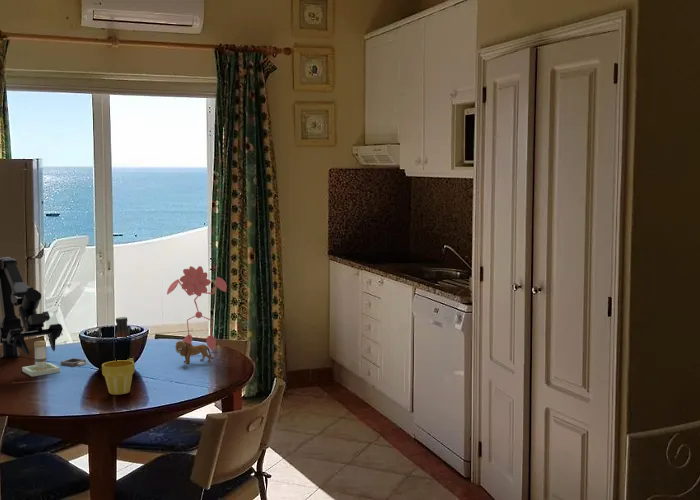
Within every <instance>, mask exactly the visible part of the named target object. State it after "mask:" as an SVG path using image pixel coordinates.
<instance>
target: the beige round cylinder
mask: <svg viewBox="0 0 700 500" xmlns="http://www.w3.org/2000/svg"><path fill="white" fill-rule="evenodd" d="M46 346H47V341H46V340H35V341H33V348H34V365H35V371H39V370H45V369H47V366H46V363H47V348H46Z"/></svg>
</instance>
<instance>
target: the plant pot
mask: <svg viewBox="0 0 700 500" xmlns="http://www.w3.org/2000/svg"><path fill="white" fill-rule="evenodd" d="M135 368H136V366H135V361H134V362H133V361H129V360H117V361H116V360H112V361H107V362H103V363H102V364H101V373H102V376H103V377H104V379H105V384H106V387H107V390H108V393H109V394H110V395H112V396H113V395H114V396H117V395H118V396H119V395H125V394H128V393H130V392H131V385H132V380H133V374H134V373H135V370H136V369H135Z"/></svg>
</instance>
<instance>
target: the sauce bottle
mask: <svg viewBox="0 0 700 500" xmlns="http://www.w3.org/2000/svg"><path fill="white" fill-rule="evenodd" d="M115 322H116V333H115V335H114V338H117V337H127V336H131V333H130V332H129V328H128V317H126V316H122V317H121V316H120V317H116V318H115ZM131 337H132V336H131ZM114 338H113V339H114ZM127 360H129V361H133V362H134V363H135V361H134V357H133V358H129V359H127Z"/></svg>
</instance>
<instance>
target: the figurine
mask: <svg viewBox="0 0 700 500" xmlns="http://www.w3.org/2000/svg"><path fill="white" fill-rule="evenodd" d="M182 271H183V274H184V275H183V276H182V275H181V277H180V278H179V279H176V280H174V281H173V282H172V283H171V284H170V285H169V287H168V288H167V291H166V294H167V295H169V294H171V293H172V292H173V291H174V290H175V289H176V288H177V287H178V284H179V285H180V287H181V289H182V290H184V291H185V293H186V294H187V295H188V297H190V296H193V295H195V296H196V297H195V298H194V299H193V303H194V304H195V308H196V310H197V311H196V312H195V315H193V316H192V317H190V318H188V319H186V325H187V333H188V334H187V335H186V336H185V337H184V338H183V339H182V341H185V342H187V343H189V344H191V345H193V343H192V341H193V335H192V334H190V331H189V330H190V329H189V320H191V319H193V318H197V319H201V318H204V319H206V320H209V321H211V328H210V334H209V335H208V336H207V337H206V346H207V347H208V348H209V350H211V351H212V352H213V351H214V350H215V348H216V346H217V340H216V339H215V337H214V336H213V335H212V333H213V325H214V324H213V323H214V320H213V319H211V318H208V317H205V316H203V313H202V312H201V311H199V308H198V304H197V302H196V300H197V299H198V297H201V296H202V294H208V295H215V294H216V290H217V288H218V289H219V290H221V291H222V292H225V293H227V288H228V286H227V283H226V281H225V279H223V278H222V277H219V276H217V277H216V279H215V285H214V286H215V287H214V290H213V292H208V288H207V286H209V285H210V284H211V283H212V282H211V280H210V279H209V278H208V272H206V271H205V272H204V269H203V267H202V265H199V266H197V268H195V267H194V266H189V268H184V269H183V270H182ZM213 355H216V353H215V354H213V353H212V356H213Z"/></svg>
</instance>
